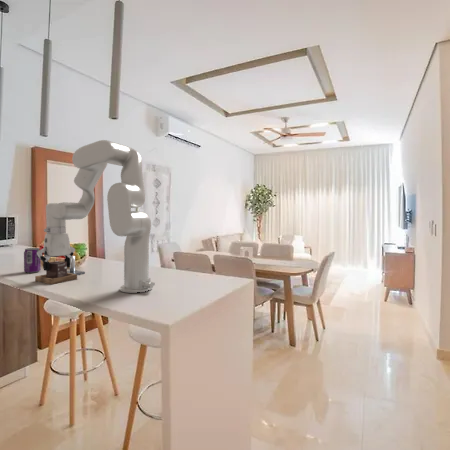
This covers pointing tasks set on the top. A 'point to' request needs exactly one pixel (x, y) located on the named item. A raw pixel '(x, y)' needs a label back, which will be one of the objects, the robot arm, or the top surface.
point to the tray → (55, 279)
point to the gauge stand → (72, 267)
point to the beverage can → (31, 260)
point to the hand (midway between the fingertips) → (57, 268)
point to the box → (57, 270)
